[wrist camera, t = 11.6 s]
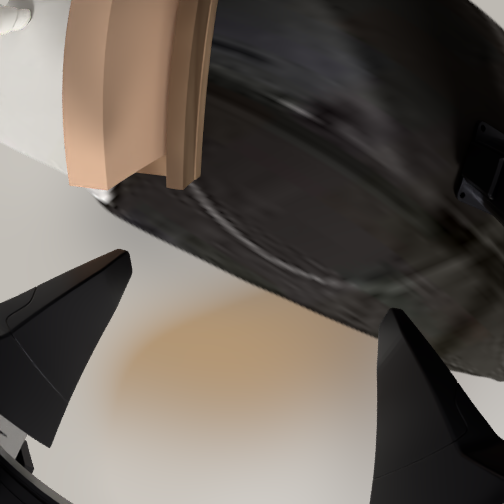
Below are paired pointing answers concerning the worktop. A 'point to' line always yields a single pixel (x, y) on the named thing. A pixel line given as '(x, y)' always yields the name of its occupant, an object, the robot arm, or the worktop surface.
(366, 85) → the worktop surface
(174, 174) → the track
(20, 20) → the lightbulb
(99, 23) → the tan rectangular block
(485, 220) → the worktop surface
